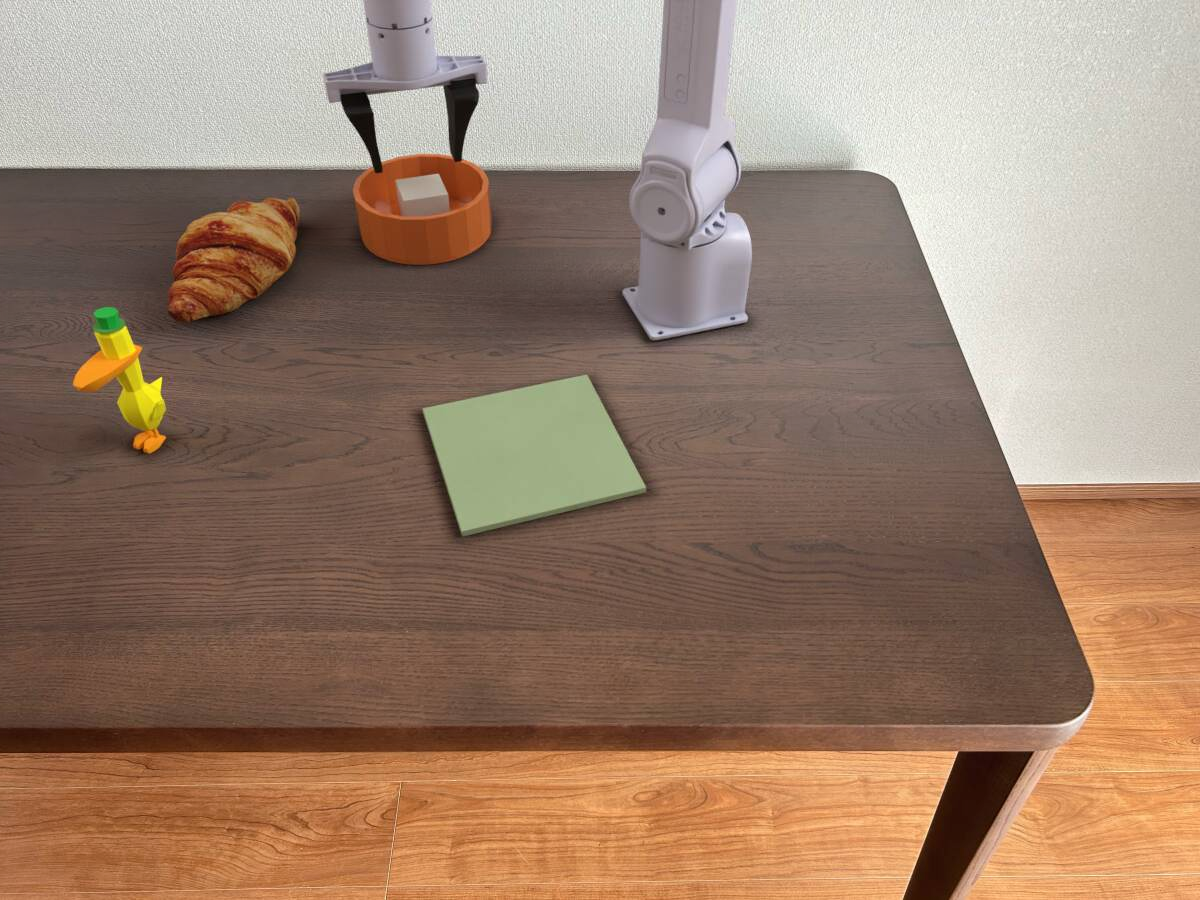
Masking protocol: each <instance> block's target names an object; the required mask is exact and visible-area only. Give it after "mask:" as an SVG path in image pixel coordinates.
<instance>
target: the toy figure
mask: <svg viewBox="0 0 1200 900" xmlns="http://www.w3.org/2000/svg"><path fill="white" fill-rule="evenodd" d="M119 314H120V313H119V310H118V309H117V308H116V307H114V306H112V307H111V306H104V307H102V308H98V309H95V311H94V312H93V317H94V319H95V322H94V323H93V325H92V329H93V331H94V332H93V334H94V336H95V338H96V341H97V343H98V345H99V347H100V350H99V351H98V352H96V353H95V354H94V355H92V357H90V358H89V359H87V361H86V362H85V363H84V364H83V365H82V366H81V367H80V368H79V370H78V371H77V372H76V374H75V376H74V379H73V383H72V386H73V387H74V388H75V389H76V390H77V391H78V392H87V393H89V392H91V393H92V392H96V391H98V390H99V389H101V388H102V387H103V388H104V386H106V385H107V384H108V383H110V382H111V381H113V380H114V379H117V381H118V383H119V384H120V386H121V388H122V390H121V393H120V394H119V397H118V399H117V401H116V404H117V406H118V410H120V413H121V414H122V417H123V419H124V420H125V421H126V422H127V423H128V425H130V426H132V427H133V428H135V429H138V430H140V431H143V432H140V433H138V434H137V435H135V436H134V440H133V444H132V447H133V449H136V450H138V451H139V450H141V449H142V451H143V452H144V453H145V454H148V455H149V454H152V453H153V452H155V451H157V450H158V449H160V447H161V446H162V444H163V443H164V442H165V440H166V439H167V437H166V435H164V434H160V433H159V432H160V431H159V430H158V427H159V425H160V423H161V422H162V419H163V417H164V414H165V413H166V411H167V407H166V403H165V402H166V401H165V399H163V396H162V395H161V392H162V383H163V376H161V377H159V378H158V379H156V380H154V381H152V382H151V383H148V382H146V381H144V376H143V373H142V368H141V363H140V358H139V355H140V353H141V352H142V350H143V347H142V346H141V345H137V344H134V342H133V340H132V337H131V334H130V332H129V330H128V327H127V326H126V321H125V319H123V318H121V317H119Z"/></svg>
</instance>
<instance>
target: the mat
mask: <svg viewBox="0 0 1200 900" xmlns="http://www.w3.org/2000/svg"><path fill="white" fill-rule="evenodd" d="M422 414H423V418H424V420H425V424H426V427H427V430H428V433H429V436H430V440H431V442H432V446H433V449H434V452H435V456H436V458H437V462H438V465H439V468H440V471H441V474H442V477H443V480H444V484H445V487H446V490H447V493H448V496H449V500H450V504H451V506H452V509H453V512H454V515H455V518H456V522H457V525H458V529H459V531H460V535H461V538H462V537H469V536H472V535H476V534H480V533H484V532H487V531H492V530H496V529H499V528H504V527H509V526H513V525H517V524H522V523H525V522H526V523H527V522H529V521H534V520H538V519H543V518H546V517H550V516H554V515H558V514H561V513H562V514H563V513H567V512H571V511H574V510H579V509H585V508H588V507H592V506H596V505H600V504H604V503H608V502H614V501H617V500H621V499H625V498H630V497H633V496H638V495H643V494H645V493H646V492H647V486H646V484H645V483H644V481H643V479H642V477H641V475H640V472H639V471H638V469H637V467H636V466H635V463H634V462H633V460H632V458H631V455H630V454H629V451H628V450H627V448H626V447H625V444H624V442H623V440H622V438H621V436H620V435H619V433H618V431H617V429H616V427H615V425H614V423H613V421H612V419H611V418H610V416H609V414H608V412H607V410H606V407H604V404H603V402H602V400H601V397H600V396H599V395H598V393H597V391H596V389H595V387H594V384H593V383H592V381H591V379H590V377H589V376H588V374H582V375H576V376H572V377H568V378H563V379H558V380H552V381H548V382H543V383H539V384H533V385H530V386H529V385H528V386H524V387H519V388H514V389H508V390H505V391H504V390H503V391H499V392H495V393H489V394H485V395H480V396H475V397H469V398H466V399H465V398H464V399H461V400H456V401H450V402H445V403H440V404H436V405H432V406H427V407H422Z"/></svg>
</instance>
